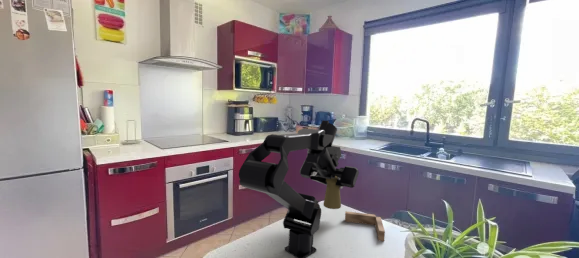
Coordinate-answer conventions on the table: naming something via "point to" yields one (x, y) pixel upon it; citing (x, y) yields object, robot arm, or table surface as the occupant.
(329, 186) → the olive yellow tapered cone
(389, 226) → the table surface
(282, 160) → the robot arm
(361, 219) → the v block
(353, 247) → the table surface
